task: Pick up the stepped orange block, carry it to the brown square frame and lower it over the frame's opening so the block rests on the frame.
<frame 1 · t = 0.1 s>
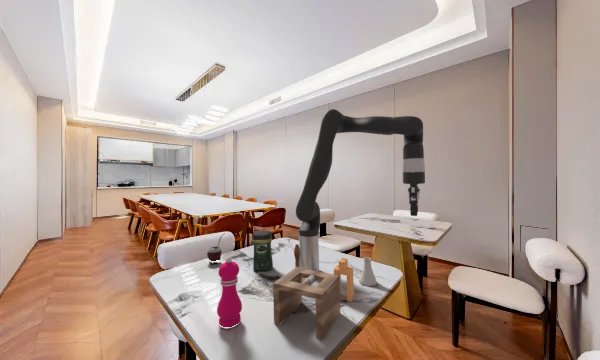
hand: (414, 214, 86), 29 cm above the table, tool pointing down, fingers open, 8 cm apart
stepped orange block: (344, 297, 83), on the table
brown square frame: (308, 317, 71), on the table
coffee jar: (262, 269, 112), on the table
mate gourd: (215, 263, 122), on the table
pepper mill: (229, 323, 69), on the table
hand bell: (297, 283, 96), on the table
flask: (367, 283, 95), on the table
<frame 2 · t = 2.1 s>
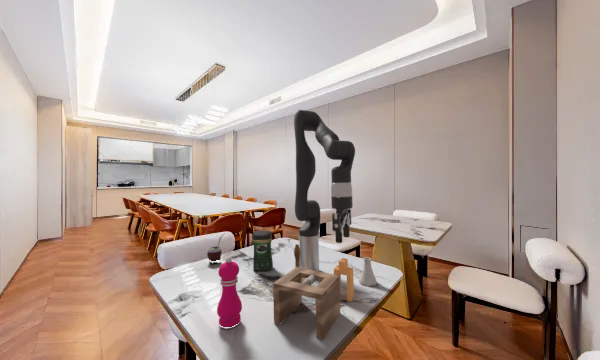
hand: (342, 239, 83), 21 cm above the table, tool pointing down, fingers open, 8 cm apart
nothing on the table moved.
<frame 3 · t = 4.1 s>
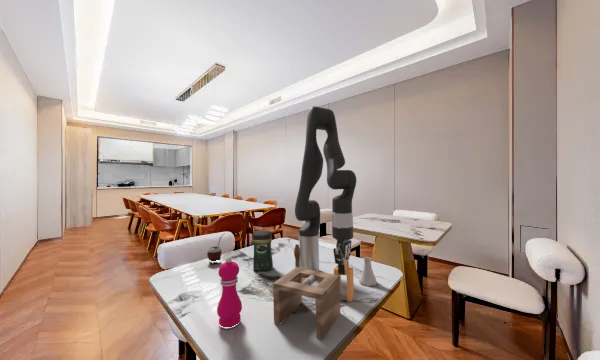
hand: (343, 271, 83), 9 cm above the table, tool pointing down, fingers closed on stepped orange block, 4 cm apart
stepped orange block: (344, 297, 83), on the table, touching gripper
everything else where it was.
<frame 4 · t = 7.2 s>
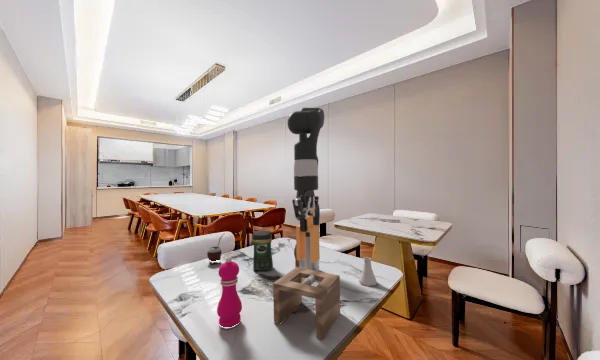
hand: (307, 229, 71), 27 cm above the table, tool pointing down, fingers closed on stepped orange block, 4 cm apart
stepped orange block: (308, 259, 71), point 18 cm above the table, touching gripper
everything else where it was.
when the fingers open (14 cm above the table, at t = 10.1 s): stepped orange block drops 1 cm, resting on brown square frame.
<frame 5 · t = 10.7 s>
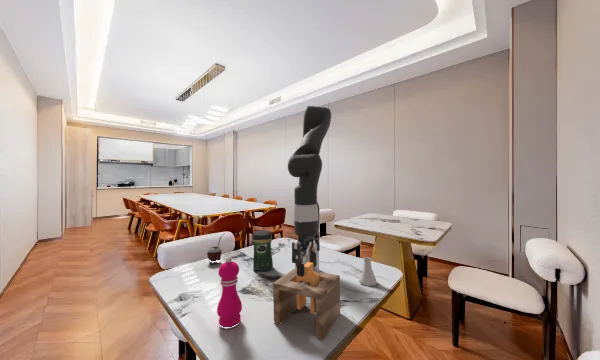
hand: (307, 270, 71), 15 cm above the table, tool pointing down, fingers open, 8 cm apart
stepped orange block: (308, 307, 71), point 3 cm above the table, touching brown square frame
everything else where it was.
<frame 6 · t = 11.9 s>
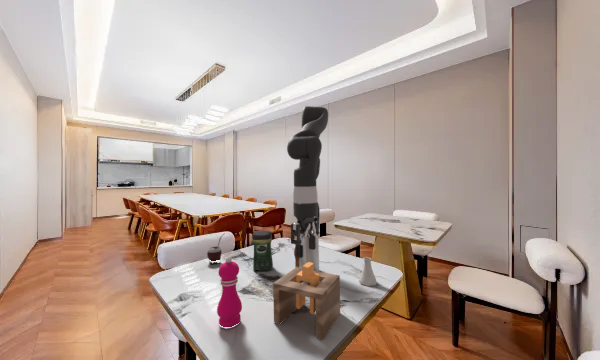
hand: (306, 253, 71), 20 cm above the table, tool pointing down, fingers open, 8 cm apart
nothing on the table moved.
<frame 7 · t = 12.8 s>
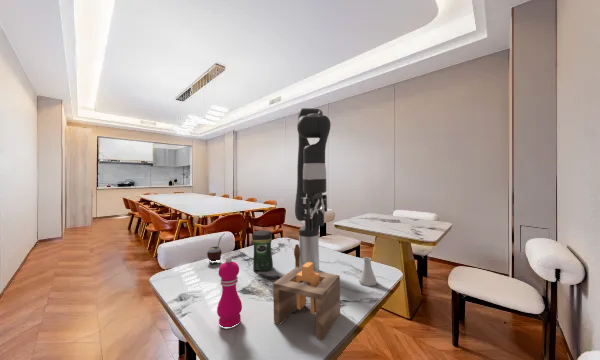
hand: (315, 228, 74), 27 cm above the table, tool pointing down, fingers open, 8 cm apart
nothing on the table moved.
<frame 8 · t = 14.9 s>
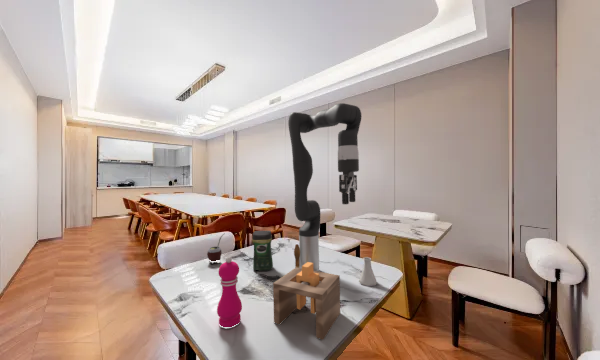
hand: (349, 203, 84), 34 cm above the table, tool pointing down, fingers open, 8 cm apart
nothing on the table moved.
at the end: stepped orange block 0.2 cm off-centre on the brown square frame, point 3.0 cm above the brown square frame's base; stepped orange block tilted 1°; stepped orange block touching brown square frame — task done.
